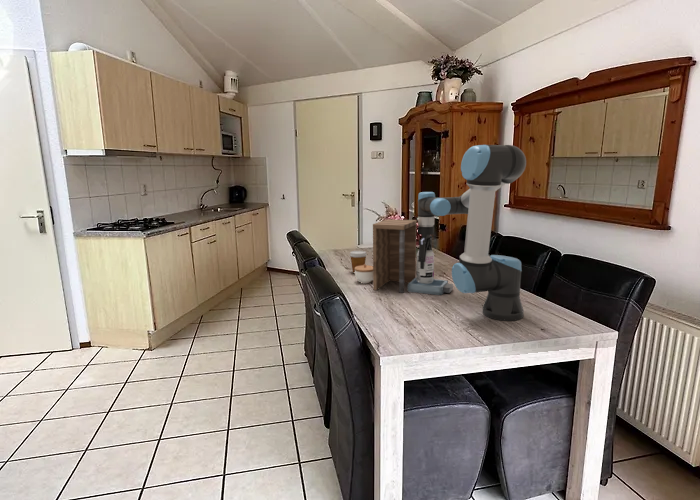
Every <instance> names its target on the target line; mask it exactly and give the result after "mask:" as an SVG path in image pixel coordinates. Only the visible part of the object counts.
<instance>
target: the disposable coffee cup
mask: <svg viewBox="0 0 700 500" xmlns="http://www.w3.org/2000/svg"><path fill="white" fill-rule="evenodd" d="M367 255H368V254H367V252H366V251H365V250H353V251H349V256H350V262H351V268H352V273H353V272H355V267H356V266H361V265H364V264H366V259H367Z"/></svg>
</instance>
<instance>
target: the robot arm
mask: <svg viewBox="0 0 700 500" xmlns="http://www.w3.org/2000/svg"><path fill="white" fill-rule="evenodd" d="M526 167H527V158H526V155H525V153H524V152H523V151H522V149H520V148H519V147H518V146H515V145H512V144H498V145H497V144H478V145H472V146H471V147H469V148H468V149H467V150H466V151H465V152H464V154H463V156H462V160H461V164H460V172H461V175H462V177H463V179H465V180H466V186H468V187H469V189H467V190H466V191H465V192H463V194H461V195H460V196H454V197H446V196H445V197H436V194H435V192H433V191H422V192H419V193H418V195H417V196H418V199H417V217H416V220H417V225H418V226H417V234H418V235H421V237H420V239H419V241H418V250H419V257H418V262H420V275H422V276H426V262H425V259H426V251H427V250H432V251H433V243H432V242H433V236H432V235H434V234H435V216H437V217H440V216H441V217H444V216H446V215H463V214H464V215H467V219H466V228H465V229H466V231H465V240H464V252H463V253H461V254H460V255H459V259H458V262H456V263H454V264H453V266H452V267H451V276H452V277H451V278H452V282H453V285H454V286H455V288H456V289H457V290H458V291H459V292H460V293H462V294H476V293H483V292H487V295H486V298H485V300H484V303H483V305H482V311H481V312H482V314H483V315H484V316H485V317H487V318H490V319H493V320H497V321H498V320H499V321H504V322H505V321H508V322H509V321H510V322H513V321H518V320H522V319H523V317H524V314H525V313H524V308H523V304H522V300H521V282H522V281H521V280H522V272H523V270H522V261H521V260H520V259H518V258H517V257H513V256H506V255H500V254H499V255H498V254H491V255H490V254H489V253H490V243H491V242H490V241H491V235H492V233H491V232H492V224H493V215H494V210H495V209H494V206H495V199H496V198H495V197H496V192H497V191H498V190H499V189H501V188H502V187H504V186H505V185H508V184H512V183H513V182H515V181H516V180H518V179H519V178H520V177H521V176H522V175H523V173H524V172H525V171H526Z"/></svg>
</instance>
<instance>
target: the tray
mask: <svg viewBox="0 0 700 500" xmlns="http://www.w3.org/2000/svg"><path fill="white" fill-rule="evenodd" d="M453 289H454V283H449V280H446V279H445V280H444V279H436V278H434V281H433V282H432V283H429V284H422V283H418V282H417V281H416V278H414V279H413V280H412V281H411V282H410V283H407V292H410V293H418V294H427V295H435V296H442V295H444V293H447V294H450V293H451V292H452V291H453Z"/></svg>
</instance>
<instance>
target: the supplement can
mask: <svg viewBox="0 0 700 500" xmlns="http://www.w3.org/2000/svg"><path fill="white" fill-rule="evenodd" d="M418 257H419V249H418V250H417V251H416V281H417V282H418V283H422V284H429V283H432V282H433V281H434V279H435V278H434V277H435V276H434V275H435V253H434V250H433V249H432V250H427V251H426V259H425V262H426V276H422V275H420V262H418Z"/></svg>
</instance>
